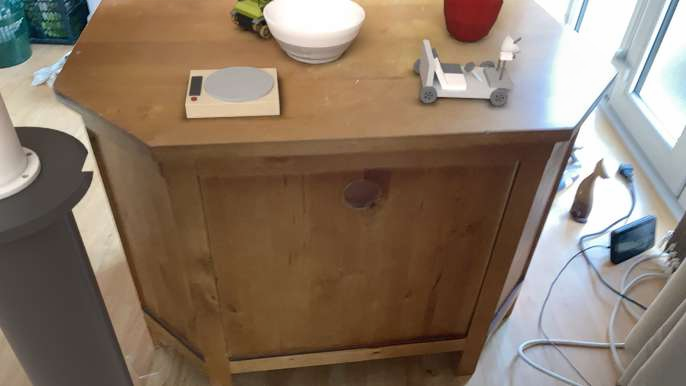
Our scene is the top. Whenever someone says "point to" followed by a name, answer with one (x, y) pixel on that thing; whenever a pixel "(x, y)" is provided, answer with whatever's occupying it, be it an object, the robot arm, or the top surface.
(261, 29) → the toy tank
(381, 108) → the top surface
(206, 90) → the scale
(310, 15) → the bowl
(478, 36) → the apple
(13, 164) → the robot arm
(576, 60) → the top surface
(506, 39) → the toy car
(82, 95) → the top surface
